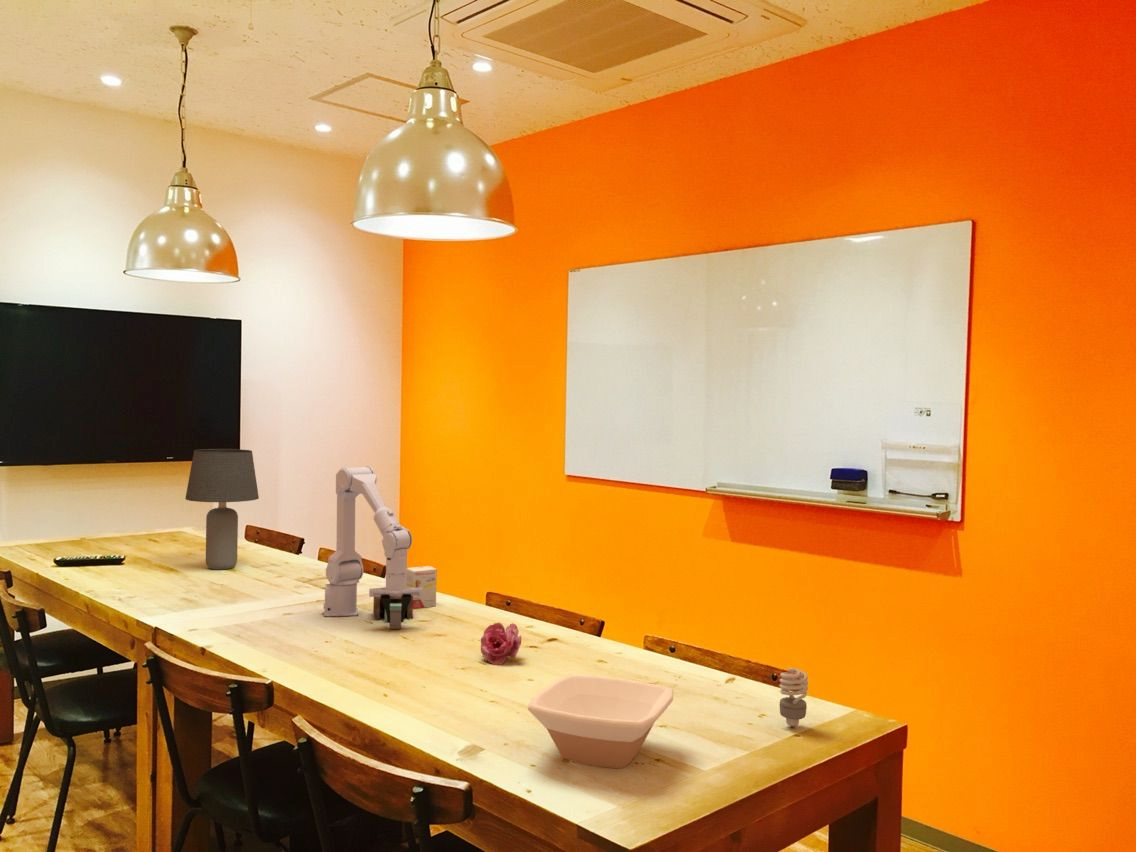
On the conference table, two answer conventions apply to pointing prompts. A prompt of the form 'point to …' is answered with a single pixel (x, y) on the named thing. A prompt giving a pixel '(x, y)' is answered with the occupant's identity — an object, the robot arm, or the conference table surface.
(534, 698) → the bowl
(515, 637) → the flower
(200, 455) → the lamp
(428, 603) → the ink box
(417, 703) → the conference table surface
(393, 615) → the block with rod
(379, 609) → the walnut cubby
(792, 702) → the light bulb
